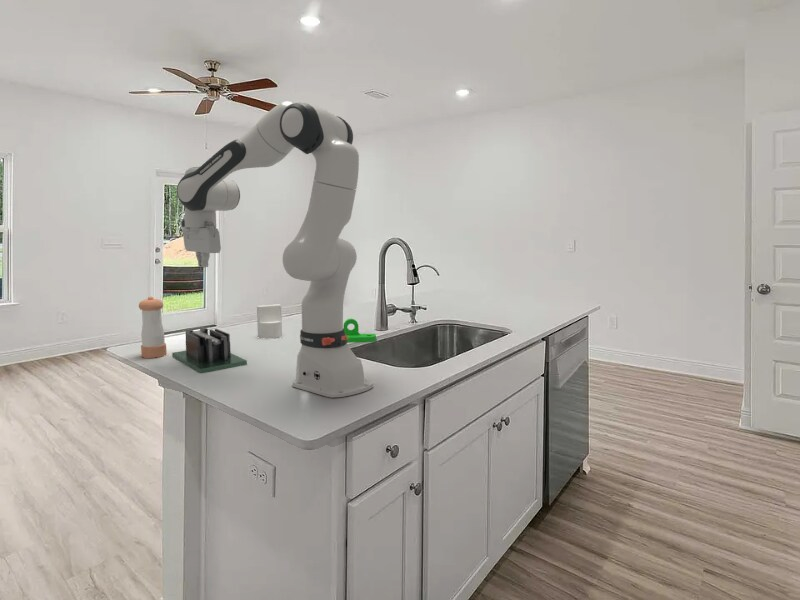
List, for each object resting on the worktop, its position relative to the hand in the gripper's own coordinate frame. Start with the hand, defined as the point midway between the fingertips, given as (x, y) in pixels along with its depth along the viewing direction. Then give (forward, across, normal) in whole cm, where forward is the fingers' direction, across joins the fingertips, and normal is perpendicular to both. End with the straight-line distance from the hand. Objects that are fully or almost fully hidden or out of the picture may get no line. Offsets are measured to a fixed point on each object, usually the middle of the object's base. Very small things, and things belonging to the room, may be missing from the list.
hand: (203, 266), depth 152 cm
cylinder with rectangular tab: (+29, +16, -30) cm, 45 cm away
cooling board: (+29, -3, +1) cm, 29 cm away
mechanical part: (+30, -12, -52) cm, 61 cm away
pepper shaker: (+29, +14, +12) cm, 34 cm away
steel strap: (+23, -2, +1) cm, 23 cm away
